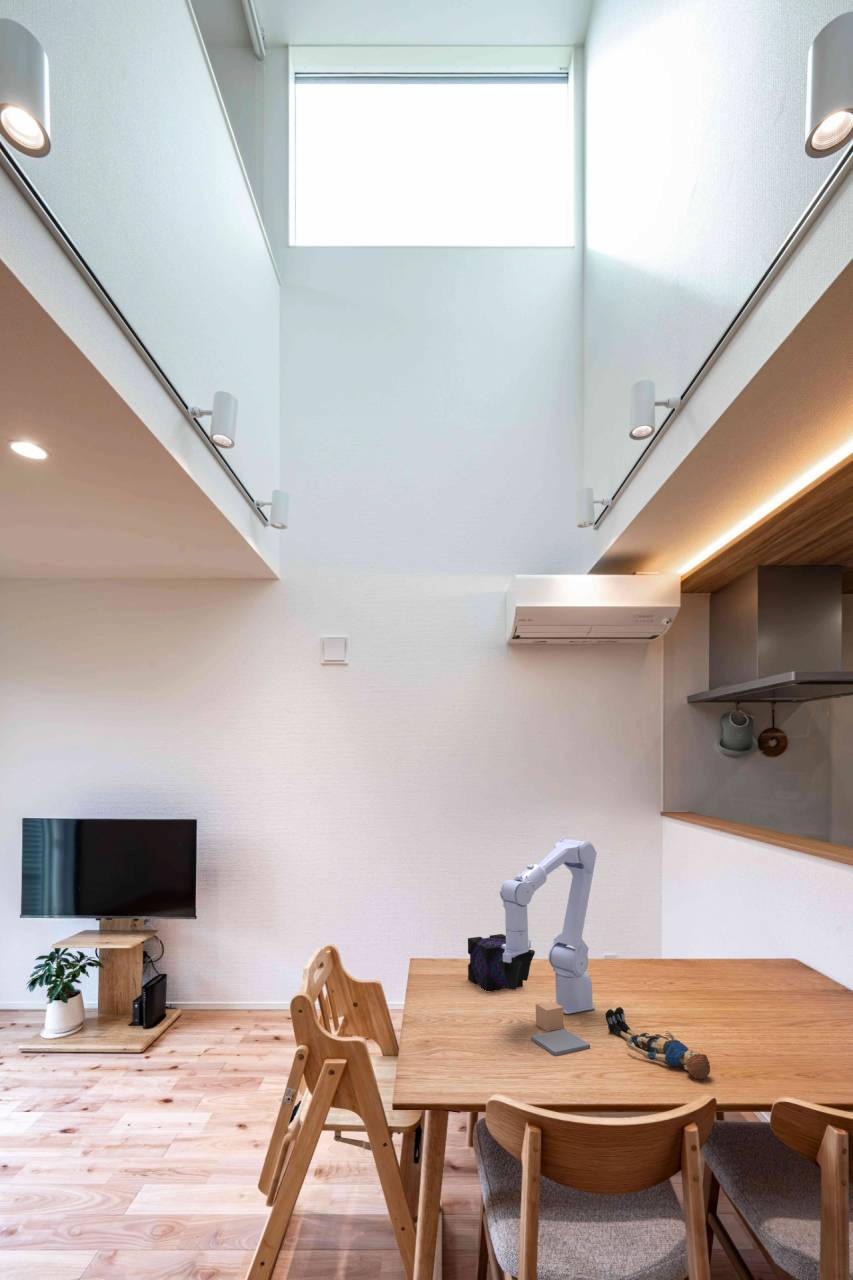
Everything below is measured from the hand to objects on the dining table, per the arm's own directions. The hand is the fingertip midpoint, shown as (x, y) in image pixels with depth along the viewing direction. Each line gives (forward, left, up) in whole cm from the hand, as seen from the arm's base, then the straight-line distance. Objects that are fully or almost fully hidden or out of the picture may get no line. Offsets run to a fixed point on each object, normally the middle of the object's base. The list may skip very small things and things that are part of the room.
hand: (517, 984), depth 182 cm
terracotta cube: (-7, +4, -10) cm, 13 cm away
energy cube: (-11, -30, -10) cm, 34 cm away
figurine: (-20, +28, -10) cm, 36 cm away
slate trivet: (-3, +14, -10) cm, 17 cm away
